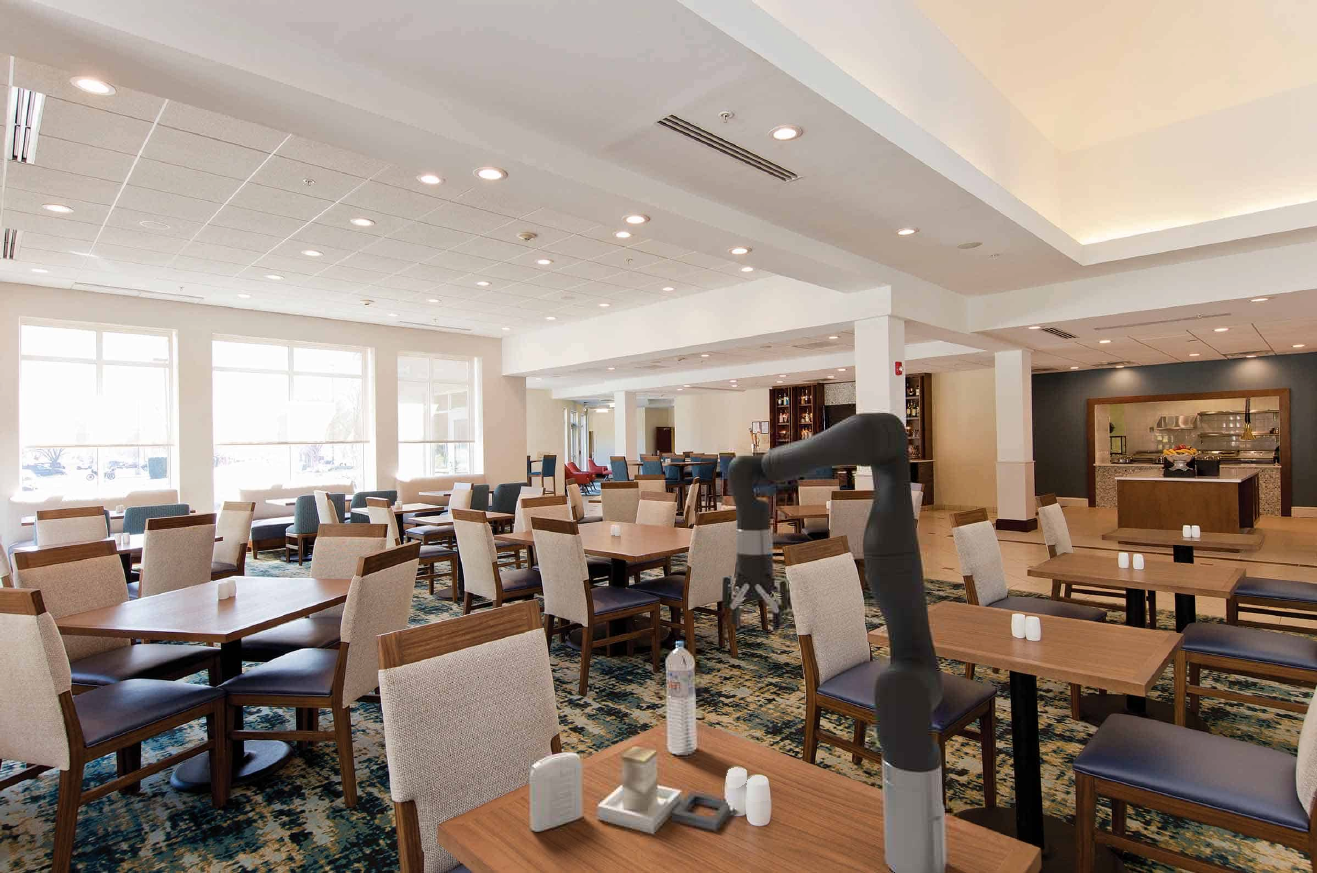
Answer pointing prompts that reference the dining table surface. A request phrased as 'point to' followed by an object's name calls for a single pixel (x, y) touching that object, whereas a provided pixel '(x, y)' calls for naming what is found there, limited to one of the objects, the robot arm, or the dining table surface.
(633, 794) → the key block
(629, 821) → the tray
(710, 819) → the plate
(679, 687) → the water bottle
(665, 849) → the dining table surface
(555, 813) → the white rounded slab
